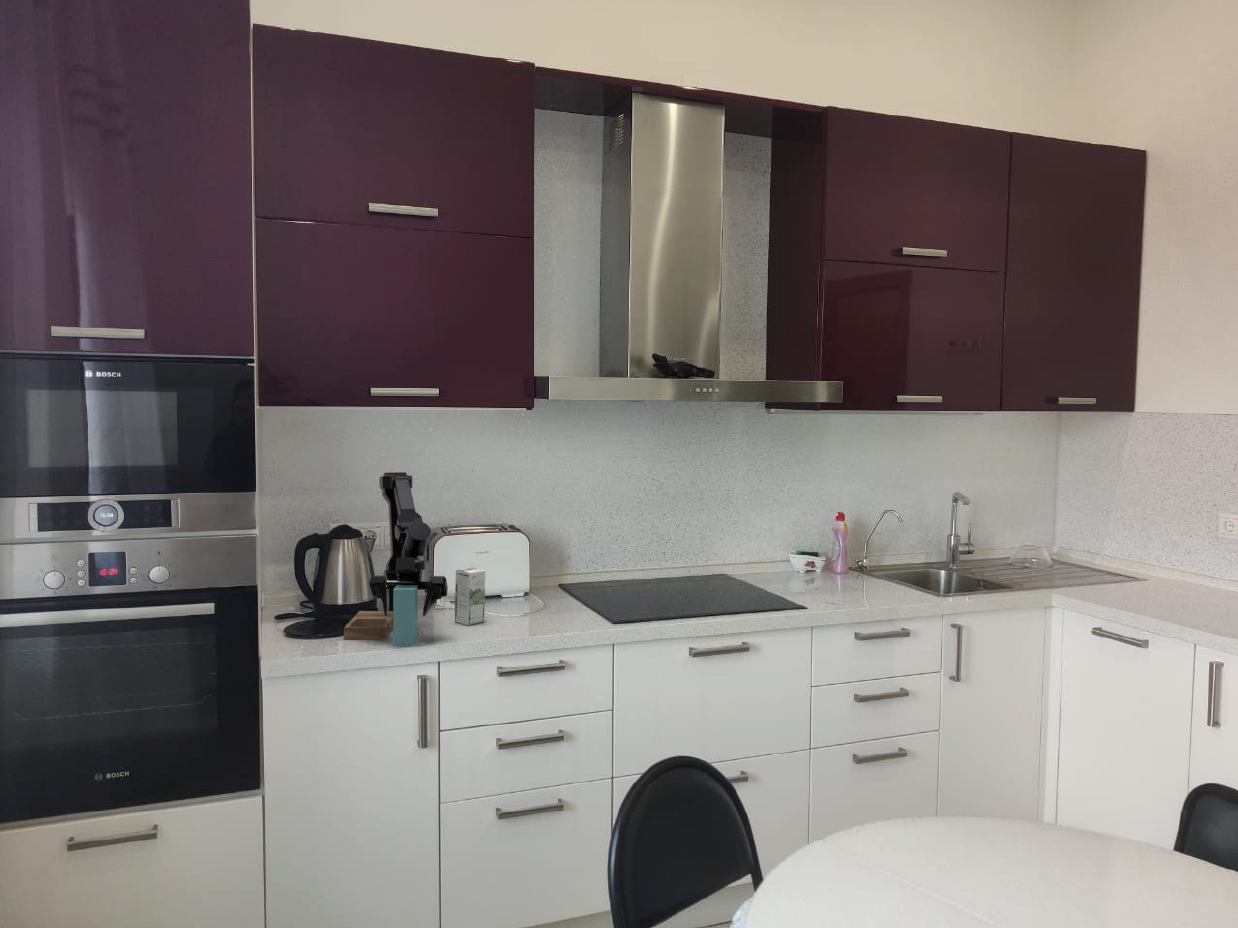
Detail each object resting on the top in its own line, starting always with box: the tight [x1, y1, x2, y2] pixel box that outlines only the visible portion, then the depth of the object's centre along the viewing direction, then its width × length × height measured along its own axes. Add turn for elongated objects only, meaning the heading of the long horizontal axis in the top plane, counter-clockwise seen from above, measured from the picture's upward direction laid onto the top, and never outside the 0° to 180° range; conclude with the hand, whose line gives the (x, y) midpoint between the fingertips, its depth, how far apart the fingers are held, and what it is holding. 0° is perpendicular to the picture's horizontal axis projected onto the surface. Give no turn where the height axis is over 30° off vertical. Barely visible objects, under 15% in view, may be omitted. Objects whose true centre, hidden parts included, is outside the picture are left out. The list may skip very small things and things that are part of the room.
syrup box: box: [454, 566, 486, 626], centre depth 249 cm, size 6×6×14 cm
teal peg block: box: [392, 585, 419, 647], centre depth 228 cm, size 5×5×14 cm
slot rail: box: [343, 610, 393, 641], centre depth 239 cm, size 17×10×3 cm, turn 3°
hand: (404, 615), depth 227 cm, fingers open, 9 cm apart
